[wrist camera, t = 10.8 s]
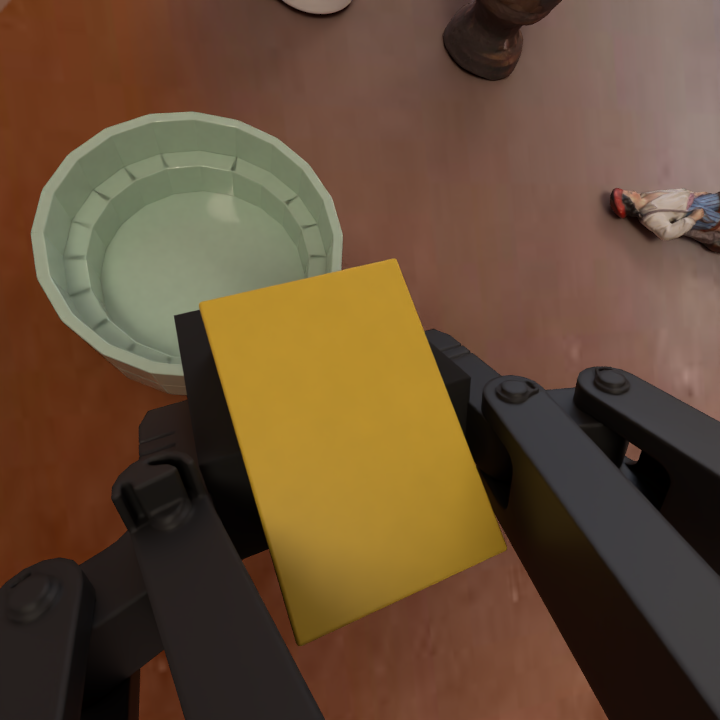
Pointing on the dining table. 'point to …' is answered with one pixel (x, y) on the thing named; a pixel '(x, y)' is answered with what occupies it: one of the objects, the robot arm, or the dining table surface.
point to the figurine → (673, 213)
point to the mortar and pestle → (492, 34)
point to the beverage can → (318, 5)
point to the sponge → (348, 443)
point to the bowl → (174, 232)
